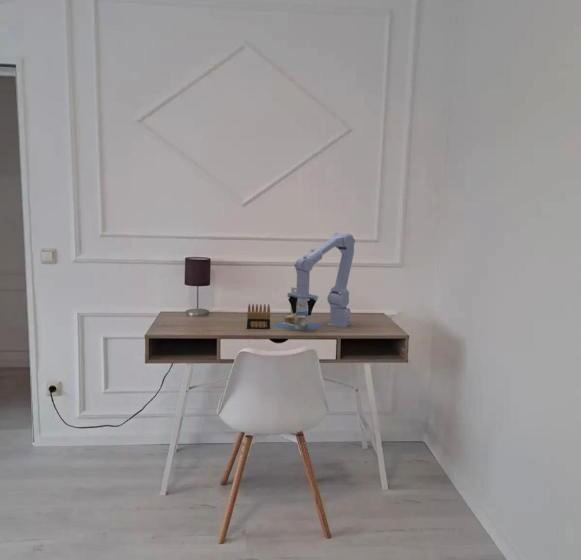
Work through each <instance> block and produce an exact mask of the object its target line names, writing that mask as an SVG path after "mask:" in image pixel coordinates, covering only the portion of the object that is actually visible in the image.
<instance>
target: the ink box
mask: <svg viewBox="0 0 581 560" xmlns="http://www.w3.org/2000/svg"><path fill="white" fill-rule="evenodd" d="M296 289H297V287H291V289H290V290H291V292H290V293H296ZM304 298H306V297H304ZM308 300H309V299H302V298H298V299H297V305H296V313H294V315H301V316H307V317H308V303H307V301H308ZM292 314H293V311H292V307H291V306H290V315H292Z"/></svg>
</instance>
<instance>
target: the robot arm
mask: <svg viewBox="0 0 581 560" xmlns="http://www.w3.org/2000/svg"><path fill="white" fill-rule="evenodd" d="M355 243H356V240H355V237H354V236H353V235H352V234H350V233H339V232H334V234H332V235H330V238H329V239H327V241H325V243H323V244H322V245H321V246H320V247H319V248H312V249H310V252H308V253H306V255H303V257H300V258H298V259H297V260H296V261H295V263H294V268H295V269H296V271H295V272H296V288H297V289H296V290H295V291H296V293H291V292H287V298H288V301H289V304H290V308H291V307H292V311H293V314H294V313H296V305H297V299H298V298H302V299H308V301H307V303H308V311H307V317H308V316H312V312H313V310H314V307H315V304H316V303H317V301H318V300H319V295H315V294H311V293H310V271H312V269H313V268H314V266H315V265H316V264H317V263H318V262H320V261H321V260H323V256H324V254H326V253H328V252H329V251H331V250H332V249H333V248H336V249H338V251H339V252H340V254H341V257H340V260H339V261H340V262H339V267H338V269H337V270H338V271H337V273H336V274H337V275H336V279H335V285H334V286H333V287H332V288H331V289H330V291H329V293H328V295H327V299H326V300H327V303H328V304H329V308H330V310H329V322H328V323H326V325H328V326H333V327H341V328H347V327H348V326H350V325H351V309H350V308H349V307H348V304H349V303H350V298H349V297H350V292H349V289H348V288H347V286H348V281H349V278H350V273H351V269H352V263H353V259H354V255H355V248H354V247H355ZM304 297H306V298H304Z"/></svg>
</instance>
